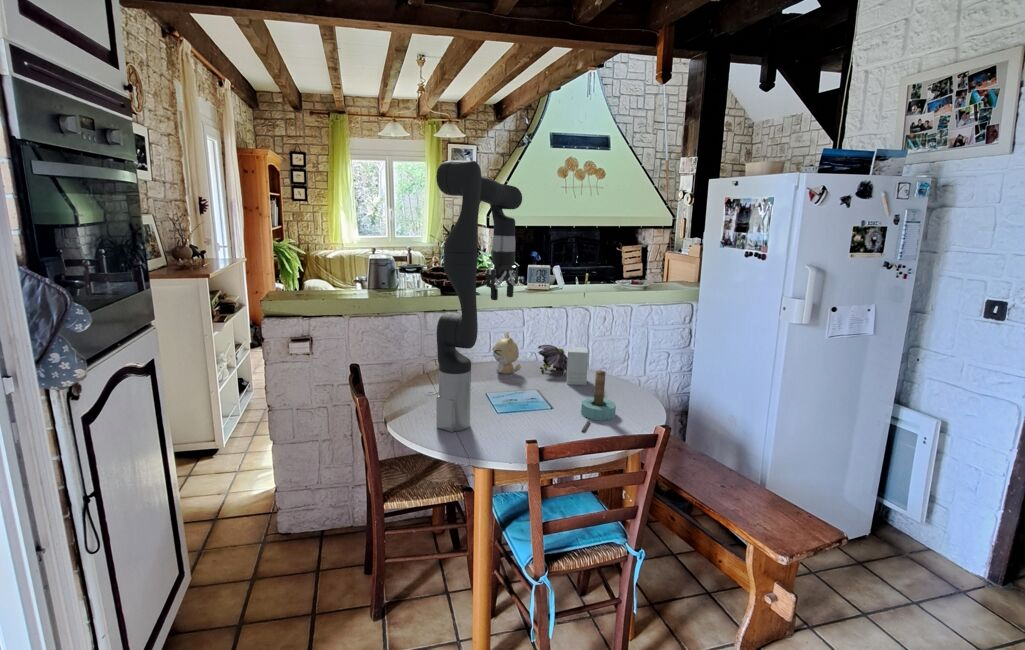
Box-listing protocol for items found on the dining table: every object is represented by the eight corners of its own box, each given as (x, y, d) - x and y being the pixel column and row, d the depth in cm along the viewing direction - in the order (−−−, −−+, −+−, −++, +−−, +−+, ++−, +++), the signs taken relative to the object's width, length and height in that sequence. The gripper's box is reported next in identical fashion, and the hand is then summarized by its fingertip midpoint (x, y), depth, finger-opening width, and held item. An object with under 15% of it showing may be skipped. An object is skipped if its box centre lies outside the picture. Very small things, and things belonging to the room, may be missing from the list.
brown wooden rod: (599, 416, 176) (602, 373, 173) (591, 414, 177) (594, 372, 174) (604, 413, 178) (607, 371, 175) (595, 411, 180) (598, 369, 177)
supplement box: (585, 379, 212) (587, 347, 209) (586, 385, 205) (588, 352, 202) (566, 378, 213) (568, 346, 210) (566, 384, 205) (568, 351, 203)
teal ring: (605, 423, 171) (606, 412, 170) (575, 414, 177) (576, 404, 176) (620, 413, 179) (620, 402, 178) (590, 405, 185) (591, 395, 184)
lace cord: (584, 432, 163) (584, 430, 163) (581, 431, 164) (581, 429, 163) (589, 422, 171) (590, 420, 170) (587, 422, 171) (587, 420, 171)
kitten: (489, 366, 224) (490, 330, 221) (513, 366, 226) (514, 330, 223) (495, 378, 210) (496, 339, 206) (521, 377, 212) (522, 339, 208)
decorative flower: (570, 355, 209) (536, 338, 215) (556, 383, 210) (524, 365, 216) (581, 356, 222) (550, 340, 228) (569, 383, 223) (538, 366, 229)
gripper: (507, 247, 190) (505, 294, 194) (480, 249, 179) (479, 299, 182) (525, 249, 186) (523, 297, 189) (499, 251, 175) (497, 302, 178)
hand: (502, 298), depth 186 cm, fingers open, 8 cm apart
